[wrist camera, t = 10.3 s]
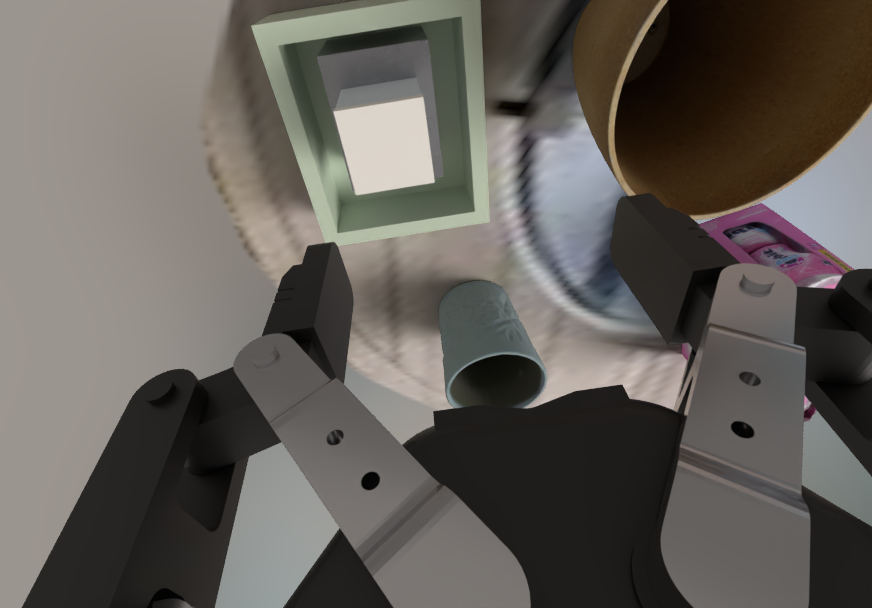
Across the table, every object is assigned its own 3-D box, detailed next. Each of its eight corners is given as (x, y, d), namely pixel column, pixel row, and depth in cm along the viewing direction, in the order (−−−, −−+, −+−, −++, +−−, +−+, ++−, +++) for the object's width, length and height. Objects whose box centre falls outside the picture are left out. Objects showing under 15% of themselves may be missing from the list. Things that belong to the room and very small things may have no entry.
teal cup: (441, 271, 46) (456, 351, 37) (528, 277, 48) (563, 354, 39) (428, 337, 52) (438, 419, 43) (505, 340, 54) (530, 420, 45)
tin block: (421, 25, 31) (428, 39, 26) (435, 148, 36) (443, 176, 32) (326, 40, 31) (316, 56, 26) (356, 160, 36) (352, 191, 32)
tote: (464, -17, 30) (479, -11, 25) (477, 191, 40) (489, 222, 36) (270, 14, 30) (250, 26, 25) (333, 214, 40) (327, 247, 36)
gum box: (685, 216, 45) (777, 296, 34) (764, 189, 44) (883, 263, 33) (680, 355, 60) (743, 439, 50) (738, 337, 59) (814, 420, 48)
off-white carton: (417, 76, 27) (423, 97, 23) (428, 153, 31) (434, 182, 27) (339, 89, 27) (333, 111, 23) (359, 164, 31) (355, 195, 27)
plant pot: (493, 94, 35) (553, 172, 23) (605, -143, 27) (794, -221, 14) (629, 159, 40) (738, 251, 28) (760, -24, 31) (999, -7, 19)
